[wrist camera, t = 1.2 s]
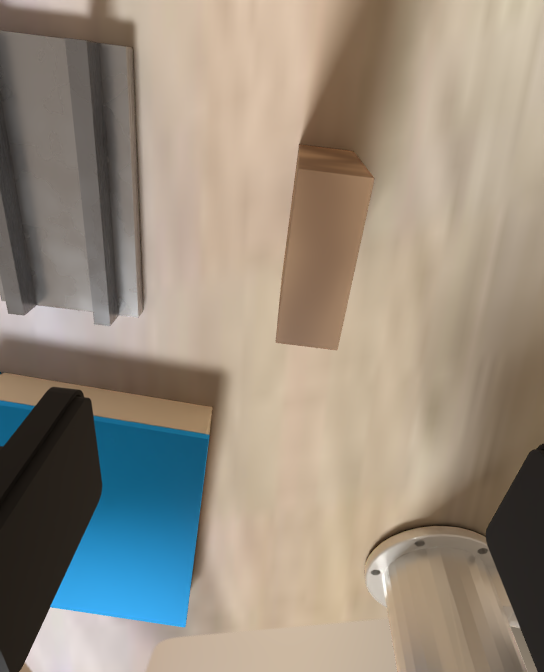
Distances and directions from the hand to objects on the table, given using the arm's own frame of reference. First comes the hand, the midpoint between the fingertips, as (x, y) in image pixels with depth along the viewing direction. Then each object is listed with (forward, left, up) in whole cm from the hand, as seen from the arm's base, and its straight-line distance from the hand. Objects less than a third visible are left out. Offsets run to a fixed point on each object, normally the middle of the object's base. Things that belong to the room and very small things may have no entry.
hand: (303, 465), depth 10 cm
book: (+13, +27, -20) cm, 36 cm away
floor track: (+14, 0, -19) cm, 24 cm away
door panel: (-1, 0, -19) cm, 19 cm away
